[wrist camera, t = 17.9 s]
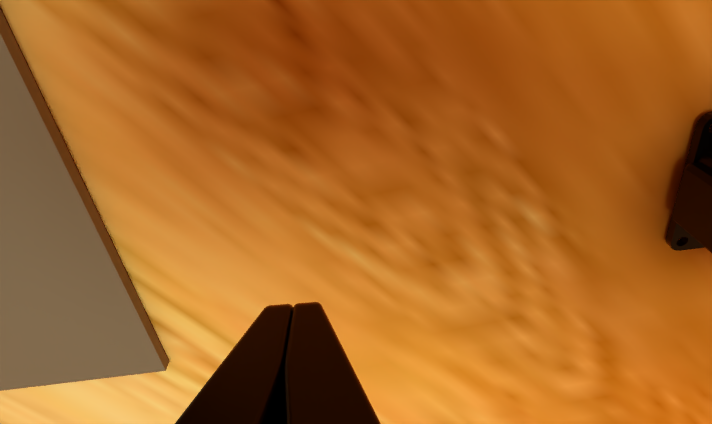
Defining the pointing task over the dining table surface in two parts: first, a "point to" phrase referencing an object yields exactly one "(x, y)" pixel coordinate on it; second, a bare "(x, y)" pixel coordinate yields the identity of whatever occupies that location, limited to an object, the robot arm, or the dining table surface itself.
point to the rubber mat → (57, 255)
